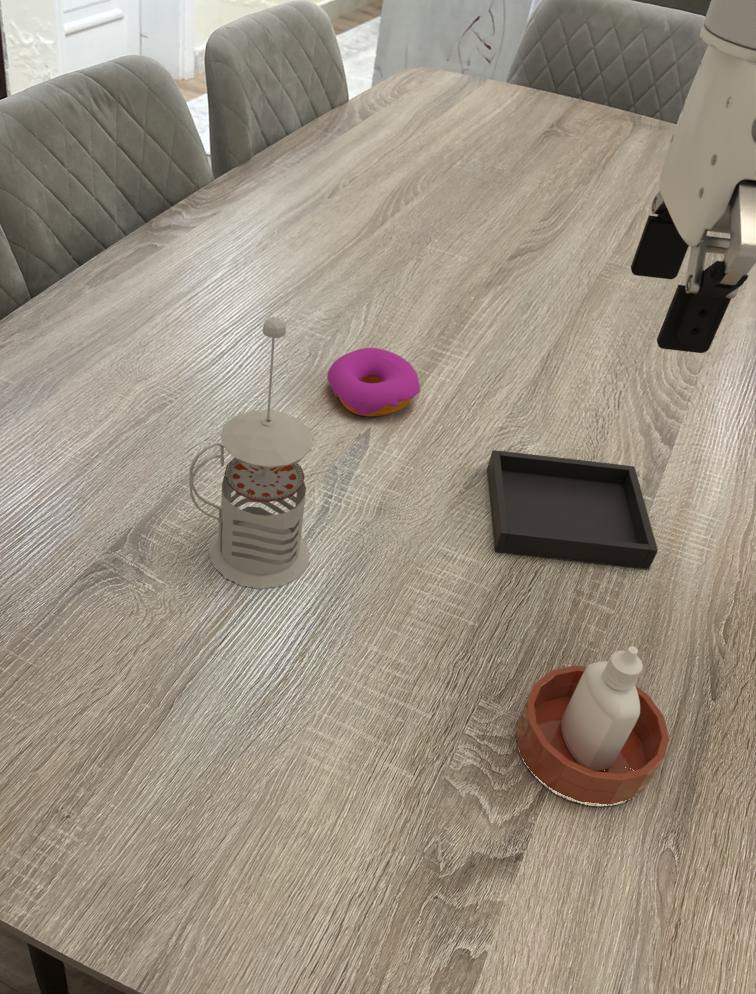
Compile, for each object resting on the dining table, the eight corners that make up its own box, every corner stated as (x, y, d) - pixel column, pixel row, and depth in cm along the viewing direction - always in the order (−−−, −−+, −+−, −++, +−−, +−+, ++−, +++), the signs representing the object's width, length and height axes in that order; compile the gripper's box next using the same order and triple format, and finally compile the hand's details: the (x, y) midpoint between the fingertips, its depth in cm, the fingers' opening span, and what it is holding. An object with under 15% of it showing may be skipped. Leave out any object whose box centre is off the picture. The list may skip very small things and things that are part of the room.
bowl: (637, 703, 82) (654, 673, 79) (662, 815, 74) (681, 787, 71) (510, 688, 82) (522, 658, 79) (521, 799, 74) (534, 770, 71)
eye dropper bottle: (555, 765, 76) (602, 670, 67) (560, 712, 80) (605, 616, 71) (610, 779, 75) (663, 685, 67) (612, 725, 79) (663, 630, 71)
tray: (626, 484, 104) (634, 466, 102) (649, 569, 94) (658, 550, 92) (486, 468, 104) (492, 449, 102) (495, 552, 94) (501, 532, 92)
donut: (316, 378, 113) (320, 345, 110) (394, 370, 116) (400, 337, 113) (345, 428, 107) (350, 394, 103) (427, 418, 109) (434, 384, 106)
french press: (314, 589, 88) (344, 354, 70) (189, 588, 87) (187, 349, 69) (305, 519, 95) (331, 290, 77) (190, 518, 94) (188, 284, 76)
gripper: (910, 78, 44) (755, 388, 56) (802, -15, 56) (693, 257, 69) (753, 59, 44) (631, 374, 56) (678, -30, 56) (591, 245, 68)
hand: (665, 310), depth 62 cm, fingers open, 9 cm apart
